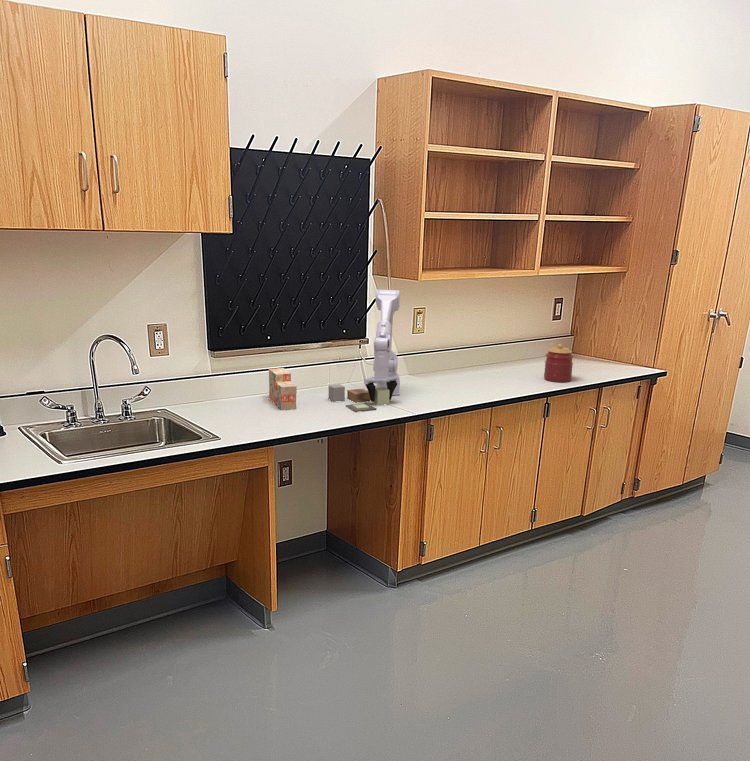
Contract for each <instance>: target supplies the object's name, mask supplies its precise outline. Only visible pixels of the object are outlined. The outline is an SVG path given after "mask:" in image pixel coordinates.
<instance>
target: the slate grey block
mask: <svg viewBox="0 0 750 761" xmlns="http://www.w3.org/2000/svg"><path fill="white" fill-rule="evenodd" d="M345 388H346V387H345V386H344V385H342V384H340V383H338V384H329V385H328V400H329V399H330V400H331V402H332V401H333V402H332V403H336V402H335V401H341V402H345V400H346V399H345V394H346V389H345ZM330 400H329V401H330Z"/></svg>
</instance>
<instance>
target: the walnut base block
mask: <svg viewBox="0 0 750 761" xmlns="http://www.w3.org/2000/svg"><path fill="white" fill-rule="evenodd" d="M346 391H347V396H346V399H347V400H348V399H349V400H348V401H350V400H351V402H352V401H353V402H352V403H354V402H355V403H354V404H358V403H357V402H359V403H367V401H368V402H371V400H370V395H369V392H368V389H367V390H366V389H364V388H356V389H355V388H354V389H347V390H346Z"/></svg>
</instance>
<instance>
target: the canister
mask: <svg viewBox="0 0 750 761" xmlns="http://www.w3.org/2000/svg"><path fill="white" fill-rule="evenodd" d="M547 351H548V352H547V353H545V357H546V358H545V360H544V373H543V378H544V379H543V380H545V381H548V382H554V383H569V382H571V381H572V378H573V365H574V363H573V359H574V355H573V354H572V353H573V350H571V348H568V347H565V346H564V344H563V343H558V344H557V346H552V347H549V348H548V349H547Z"/></svg>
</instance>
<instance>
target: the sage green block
mask: <svg viewBox="0 0 750 761" xmlns="http://www.w3.org/2000/svg"><path fill="white" fill-rule="evenodd" d="M371 402H372V404H374V405H376V406H378V405H379V406H385V405H384V404H389V405H390V400H389V390H388V389H386V388H384V387H382V388H375V398H374V401H371Z"/></svg>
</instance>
